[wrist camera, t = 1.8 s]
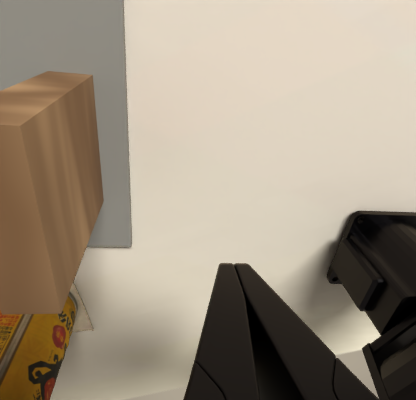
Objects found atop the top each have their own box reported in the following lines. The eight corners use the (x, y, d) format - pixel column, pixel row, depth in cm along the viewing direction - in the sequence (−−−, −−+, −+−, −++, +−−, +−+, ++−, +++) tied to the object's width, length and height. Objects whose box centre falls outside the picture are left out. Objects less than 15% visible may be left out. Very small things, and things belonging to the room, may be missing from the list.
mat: (123, -10, 13) (121, -10, 13) (132, 243, 20) (131, 247, 20) (-202, -51, 11) (-213, -53, 11) (-68, 240, 18) (-73, 244, 18)
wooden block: (92, 74, 14) (19, 126, 7) (103, 201, 18) (61, 313, 11) (42, 70, 14) (-82, 119, 7) (63, 199, 18) (-6, 314, 11)
